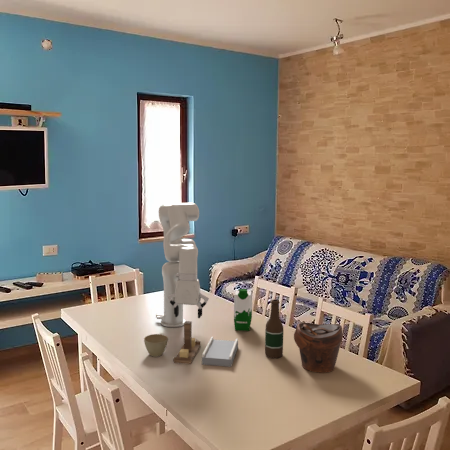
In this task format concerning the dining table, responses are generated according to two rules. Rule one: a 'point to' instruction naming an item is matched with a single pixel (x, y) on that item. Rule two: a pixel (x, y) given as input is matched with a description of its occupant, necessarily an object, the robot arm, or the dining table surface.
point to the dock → (220, 352)
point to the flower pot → (156, 344)
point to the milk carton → (242, 310)
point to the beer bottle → (274, 333)
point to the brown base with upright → (188, 345)
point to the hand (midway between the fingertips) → (188, 316)
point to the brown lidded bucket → (318, 345)
